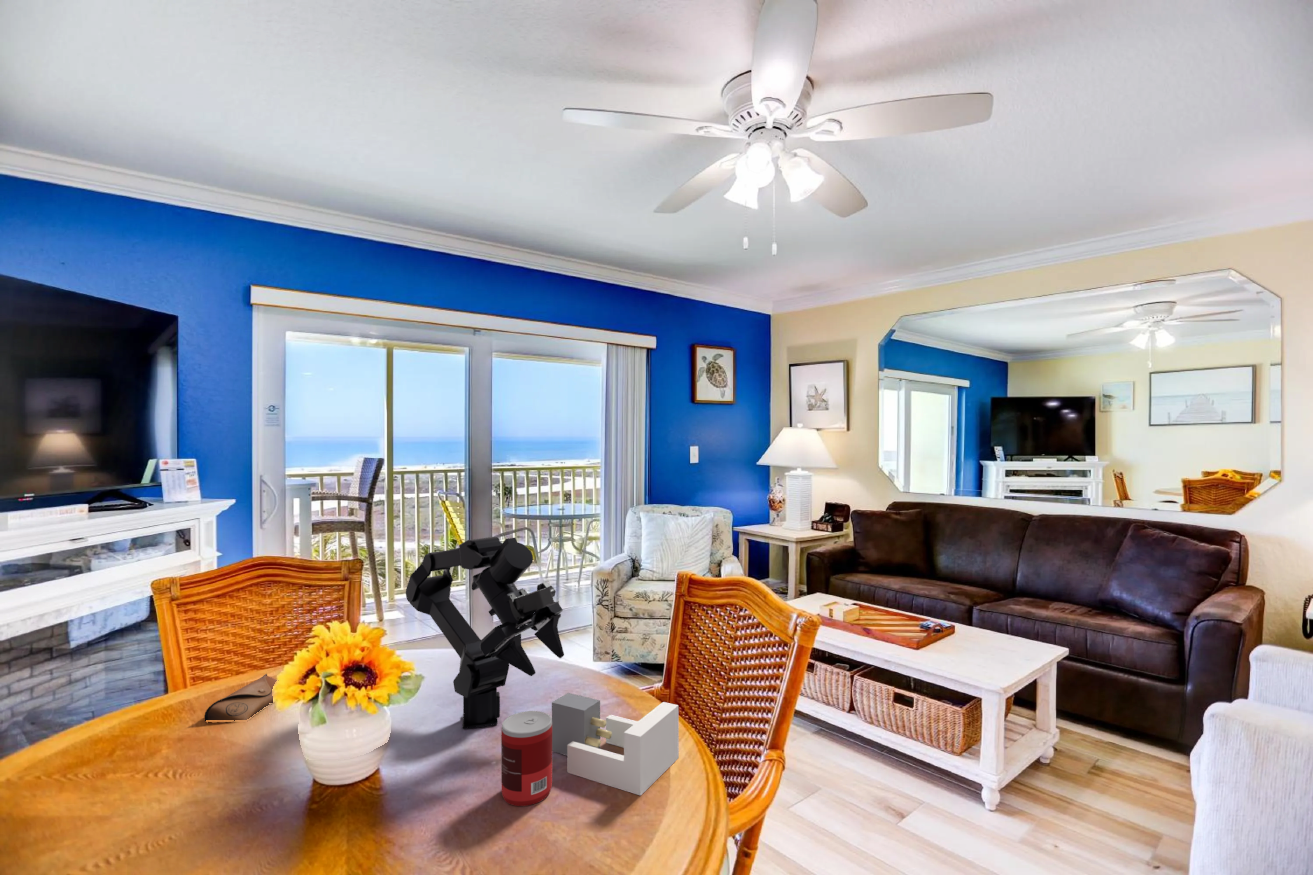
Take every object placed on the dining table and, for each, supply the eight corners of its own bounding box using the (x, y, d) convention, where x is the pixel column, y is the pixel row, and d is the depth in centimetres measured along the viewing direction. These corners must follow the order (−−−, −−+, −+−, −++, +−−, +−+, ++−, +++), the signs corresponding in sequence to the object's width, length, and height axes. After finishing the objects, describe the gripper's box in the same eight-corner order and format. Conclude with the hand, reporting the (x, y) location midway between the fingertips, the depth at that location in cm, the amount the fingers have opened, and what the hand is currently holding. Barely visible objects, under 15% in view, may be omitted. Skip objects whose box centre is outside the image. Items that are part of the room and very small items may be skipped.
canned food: (557, 779, 98) (557, 711, 98) (543, 808, 90) (543, 734, 90) (511, 777, 99) (511, 709, 99) (493, 806, 91) (493, 732, 91)
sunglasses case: (246, 722, 119) (229, 693, 119) (215, 741, 119) (198, 711, 119) (300, 686, 137) (285, 661, 137) (273, 702, 137) (258, 677, 137)
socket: (567, 772, 100) (567, 717, 100) (610, 739, 112) (610, 689, 112) (640, 795, 94) (640, 736, 94) (678, 757, 105) (678, 705, 105)
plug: (551, 750, 107) (551, 702, 107) (568, 739, 111) (568, 692, 111) (596, 764, 102) (596, 713, 103) (612, 751, 107) (611, 702, 107)
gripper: (496, 582, 105) (547, 659, 101) (557, 560, 122) (602, 626, 118) (458, 618, 108) (506, 694, 104) (522, 592, 125) (565, 657, 121)
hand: (548, 665), depth 112 cm, fingers open, 9 cm apart
